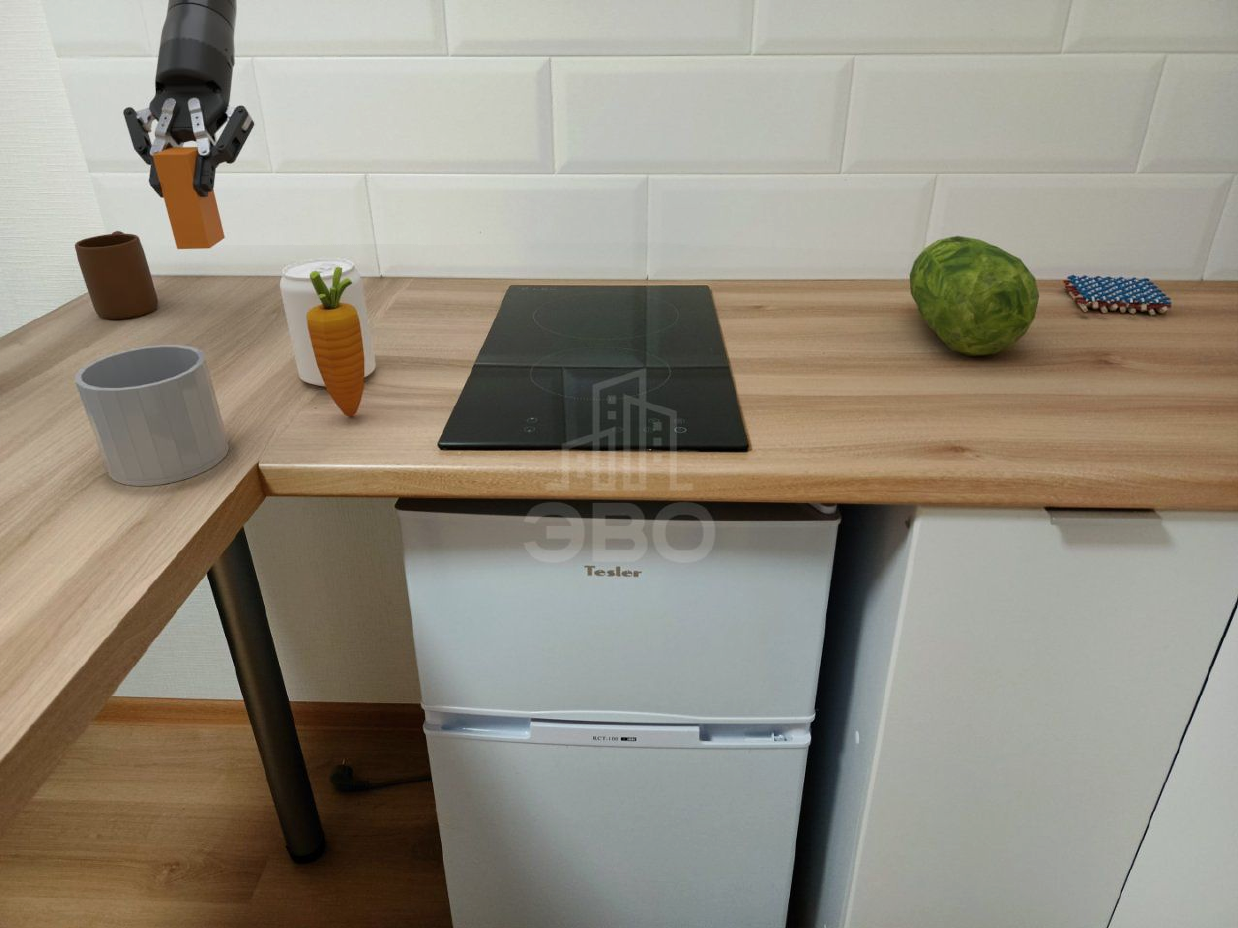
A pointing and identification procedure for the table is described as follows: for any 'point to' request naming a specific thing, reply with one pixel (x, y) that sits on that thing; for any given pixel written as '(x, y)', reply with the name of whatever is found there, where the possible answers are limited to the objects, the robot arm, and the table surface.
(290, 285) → the beverage can
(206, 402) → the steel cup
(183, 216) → the orange rectangular prism
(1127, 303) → the woven mat
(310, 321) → the carrot
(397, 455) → the table surface
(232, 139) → the robot arm
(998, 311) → the lettuce
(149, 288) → the mug
